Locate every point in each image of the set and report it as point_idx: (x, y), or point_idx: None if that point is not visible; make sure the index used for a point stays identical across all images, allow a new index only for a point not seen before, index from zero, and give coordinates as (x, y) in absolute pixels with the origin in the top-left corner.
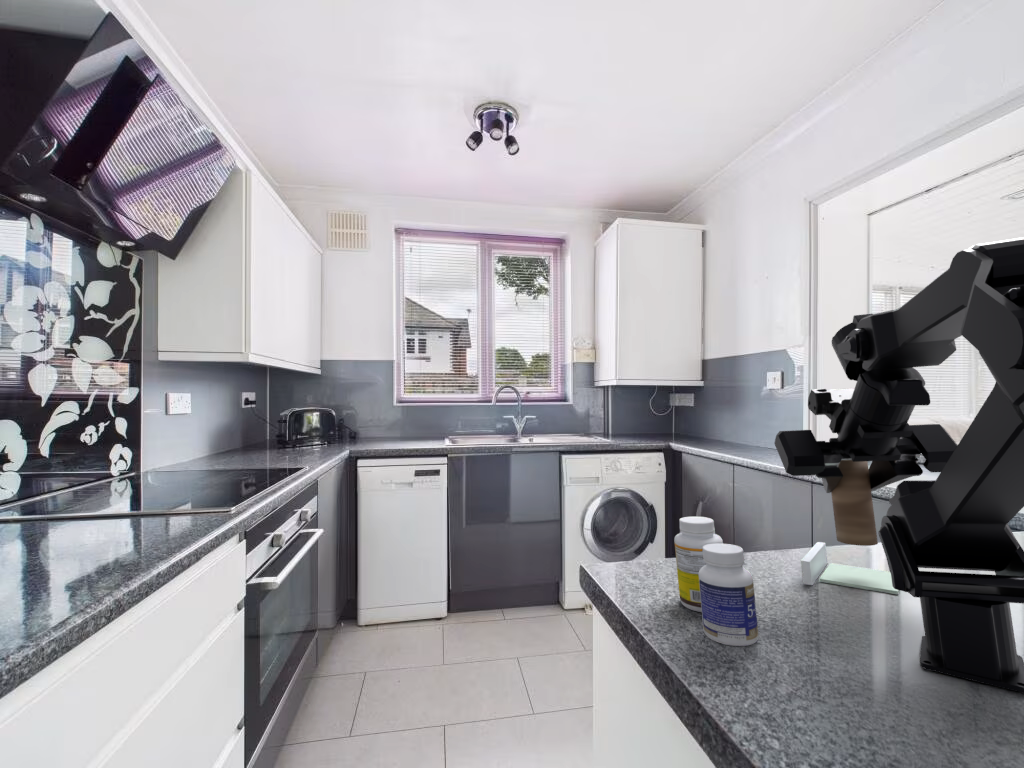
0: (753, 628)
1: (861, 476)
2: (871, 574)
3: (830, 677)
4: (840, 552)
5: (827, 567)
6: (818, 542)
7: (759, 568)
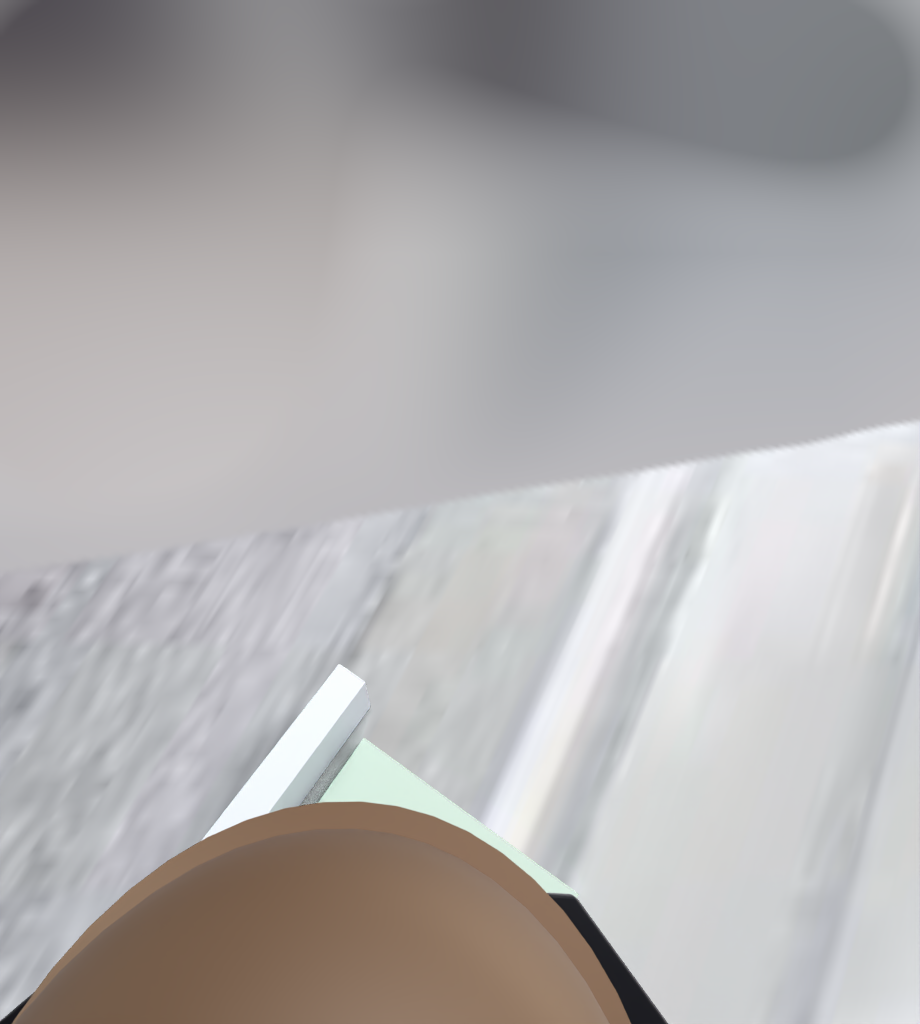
0: None
1: None
2: None
3: None
4: (493, 560)
5: None
6: (337, 674)
7: (43, 772)
